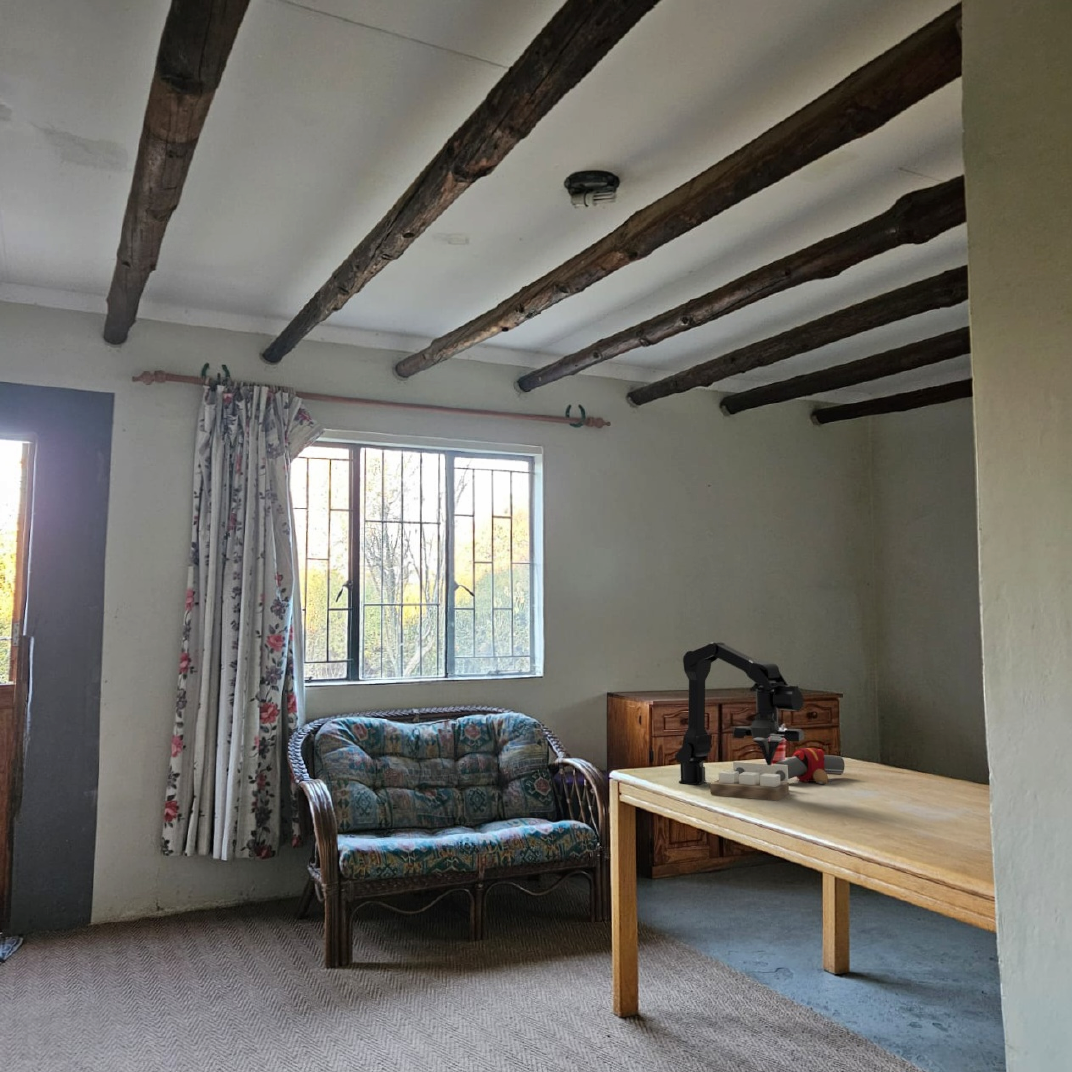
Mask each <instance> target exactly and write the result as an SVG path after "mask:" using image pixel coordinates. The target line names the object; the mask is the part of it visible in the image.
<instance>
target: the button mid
mask: <svg viewBox="0 0 1072 1072" xmlns="http://www.w3.org/2000/svg"><path fill="white" fill-rule="evenodd" d="M759 783H760V782H759V773H752V772H743V773H741V774H739V784H746V785H757V784H759Z"/></svg>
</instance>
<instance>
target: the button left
mask: <svg viewBox="0 0 1072 1072" xmlns="http://www.w3.org/2000/svg"><path fill="white" fill-rule="evenodd" d="M718 780H719V782H721V783H733V784H735V783H737V782H739V772H738V771H734V770H722V771H720V772H718Z"/></svg>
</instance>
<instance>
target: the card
mask: <svg viewBox="0 0 1072 1072" xmlns="http://www.w3.org/2000/svg"><path fill="white" fill-rule="evenodd" d="M732 765H733V768H732V769H733V771H738V772H739V774H741V773H743V772H752V773H759V780H760V776H761V775H763V774H779V775H780V782H788V783H789V779H788V765H778V764H775V763H774V764H773V763H772V764H771V765H767V763H764V762H762V763H761V762H749V761H748V762H745V761H732Z"/></svg>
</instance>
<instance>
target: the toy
mask: <svg viewBox="0 0 1072 1072" xmlns="http://www.w3.org/2000/svg"><path fill="white" fill-rule="evenodd" d="M774 764H778V765H788V780H790V779H793V778H797V780H798V781H800V782H804V783H806V782H815V783H817V784H820V785H825V784H827V783H828V781H829V775H835V776H841V775H843V773H844V772H845V766H846V765H845V761H844V758H843V757H842V756H839V755H828V754H825V752H824V751H823V749H819V748H818V749H817V748H815V747H805V748H798V749H795V750H794V751H793V753H792V755H791V757H788V758H785V759H784V758H783V759H782V760H779V761H776V762H775V763H774Z"/></svg>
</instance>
